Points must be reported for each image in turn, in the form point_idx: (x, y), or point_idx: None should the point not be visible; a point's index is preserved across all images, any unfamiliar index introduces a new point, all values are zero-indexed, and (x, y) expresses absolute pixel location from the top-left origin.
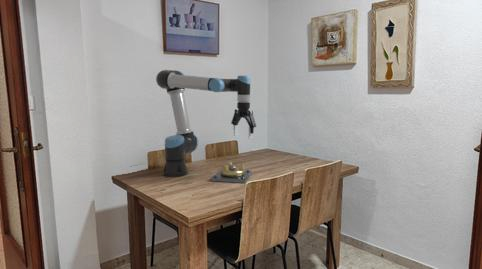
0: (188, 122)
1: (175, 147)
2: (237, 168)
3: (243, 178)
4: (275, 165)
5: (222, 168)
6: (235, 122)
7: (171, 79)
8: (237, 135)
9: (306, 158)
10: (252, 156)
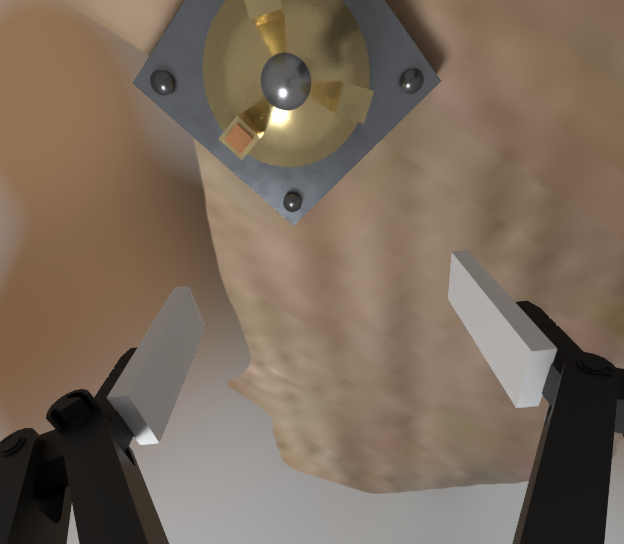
0: None
1: None
2: (297, 133)
3: (151, 81)
4: (369, 375)
5: (358, 32)
6: (559, 413)
7: None
8: (450, 292)
9: (381, 484)
10: None
